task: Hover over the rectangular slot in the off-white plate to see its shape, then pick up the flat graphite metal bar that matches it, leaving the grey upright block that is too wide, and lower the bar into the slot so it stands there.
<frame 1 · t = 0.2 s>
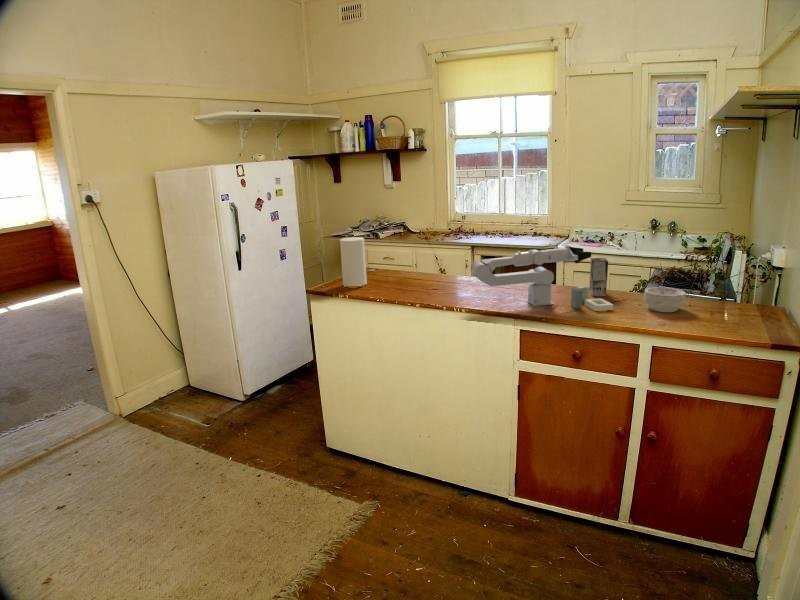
hand: (586, 252, 228), 21 cm above the table, tool horizontal, fingers open, 7 cm apart
slot plate: (598, 307, 222), on the table
coffee box: (597, 294, 243), on the table
bar: (576, 307, 224), on the table
light grey bowl: (663, 310, 216), on the table
cylinder: (355, 286, 277), on the table
grey upright block: (581, 300, 233), on the table
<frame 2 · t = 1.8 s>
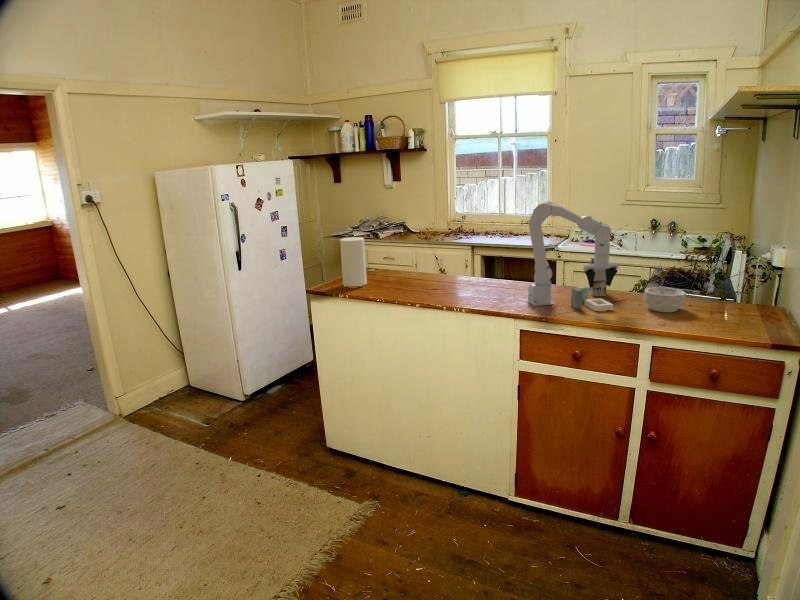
hand: (599, 286, 219), 9 cm above the table, tool pointing down, fingers open, 7 cm apart
nothing on the table moved.
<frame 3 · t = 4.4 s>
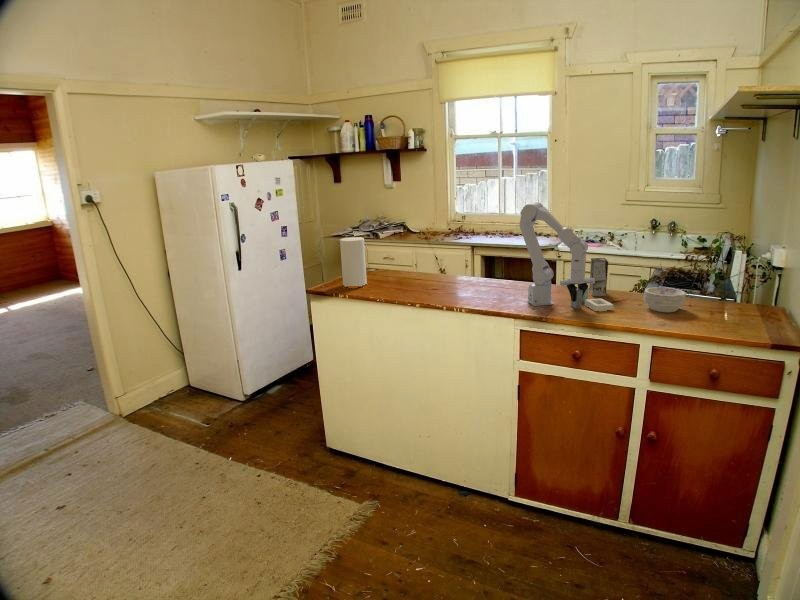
hand: (576, 300, 223), 3 cm above the table, tool pointing down, fingers closed on bar, 2 cm apart
bar: (576, 307, 224), on the table, touching gripper
everything else where it was.
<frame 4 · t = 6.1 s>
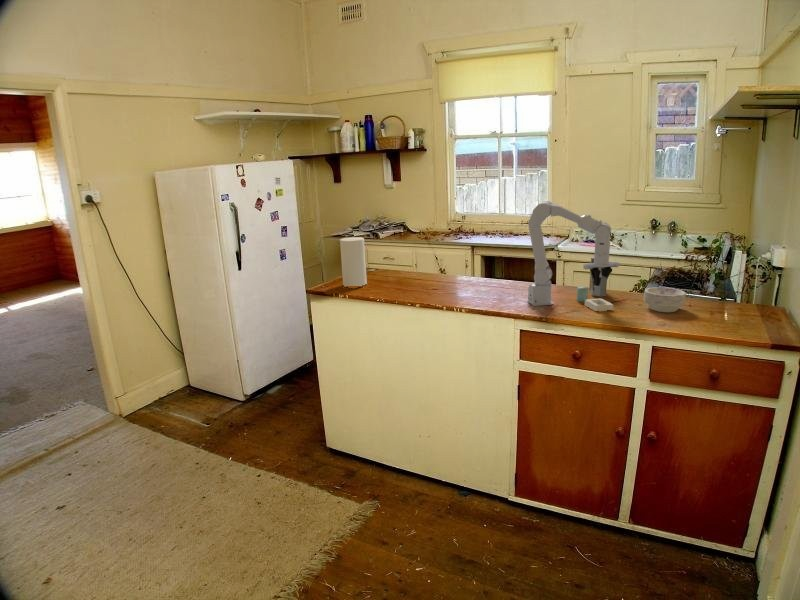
hand: (599, 285, 219), 10 cm above the table, tool pointing down, fingers closed on bar, 2 cm apart
bar: (599, 294, 220), point 6 cm above the table, touching gripper
everything else where it was.
when the fingers open (3 cm above the table, at t = 8.2 s): bar stays where it is, resting in slot plate.
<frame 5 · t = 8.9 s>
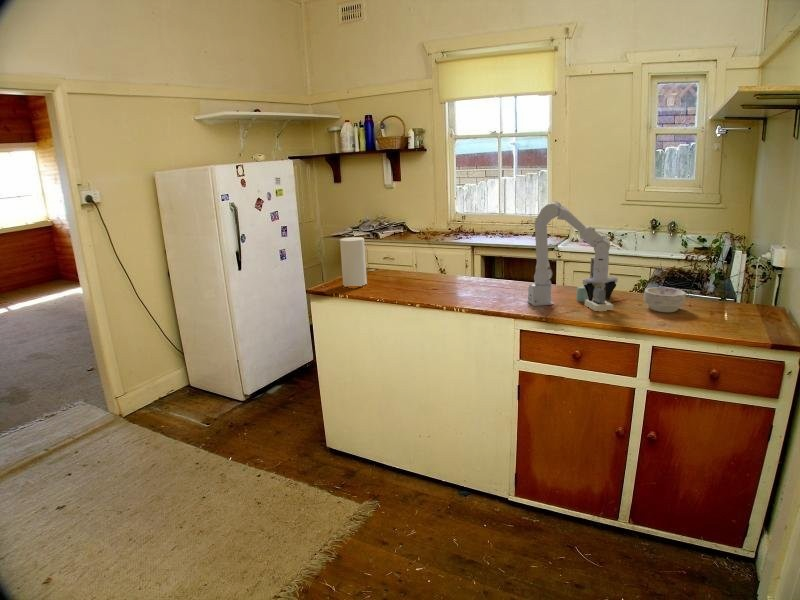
hand: (598, 300, 221), 3 cm above the table, tool pointing down, fingers open, 7 cm apart
bar: (598, 307, 222), resting in slot plate
everything else where it was.
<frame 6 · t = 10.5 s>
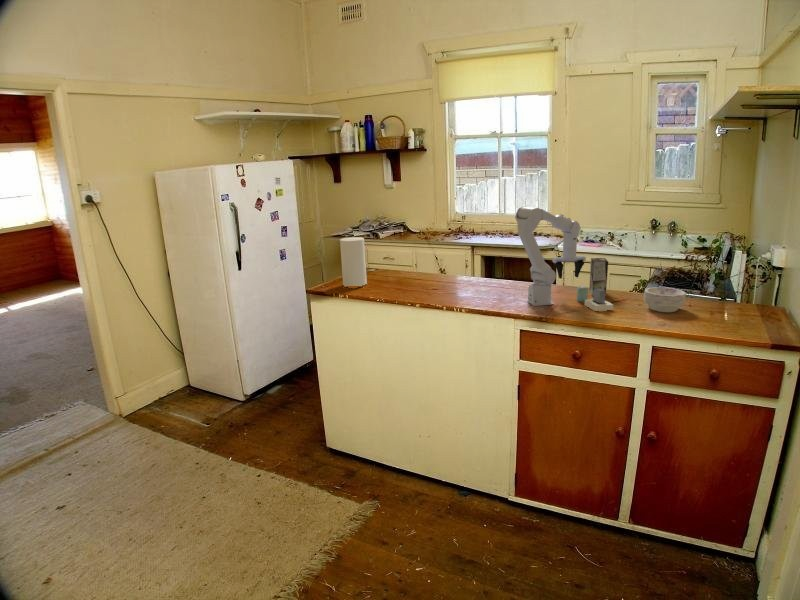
hand: (568, 277, 236), 9 cm above the table, tool pointing down, fingers open, 7 cm apart
nothing on the table moved.
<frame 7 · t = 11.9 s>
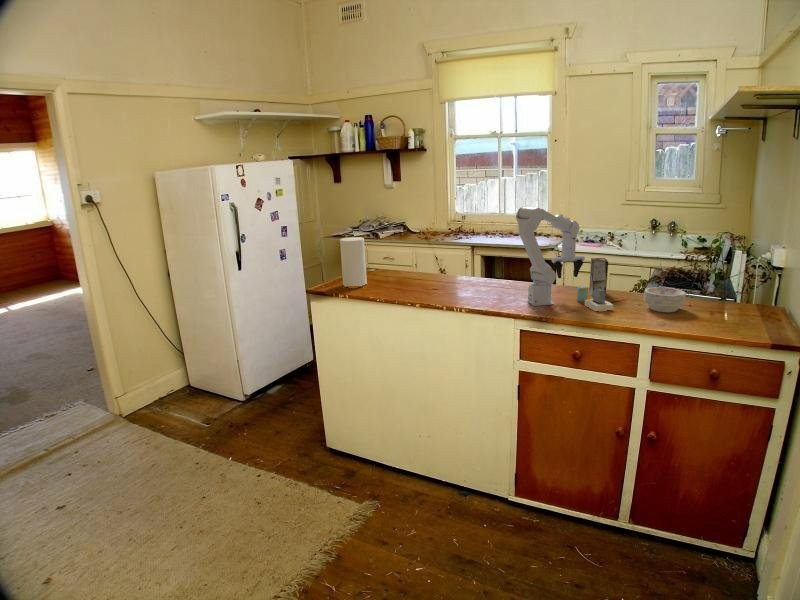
hand: (567, 277, 237), 9 cm above the table, tool pointing down, fingers open, 7 cm apart
nothing on the table moved.
at the end: bar 0.0 cm off-centre on the slot plate, point 0.0 cm above the slot plate's base; bar tilted 0°; grey upright block moved 0.0 cm from its start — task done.
